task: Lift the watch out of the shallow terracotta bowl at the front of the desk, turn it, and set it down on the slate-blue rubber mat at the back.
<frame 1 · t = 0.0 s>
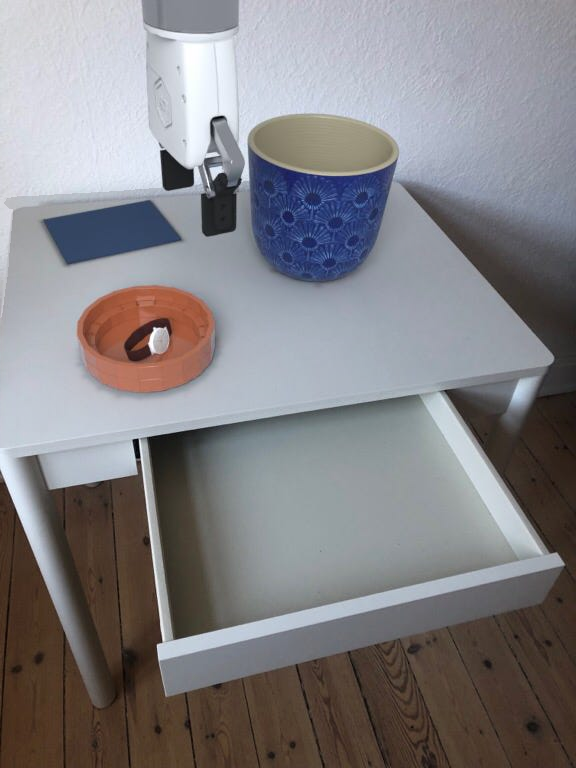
hand: (198, 209, 61), 23 cm above the table, tool pointing down, fingers open, 9 cm apart
mat: (111, 230, 102), on the table
planter: (311, 263, 99), on the table
watch: (149, 348, 81), resting on bowl
bowl: (149, 351, 81), on the table
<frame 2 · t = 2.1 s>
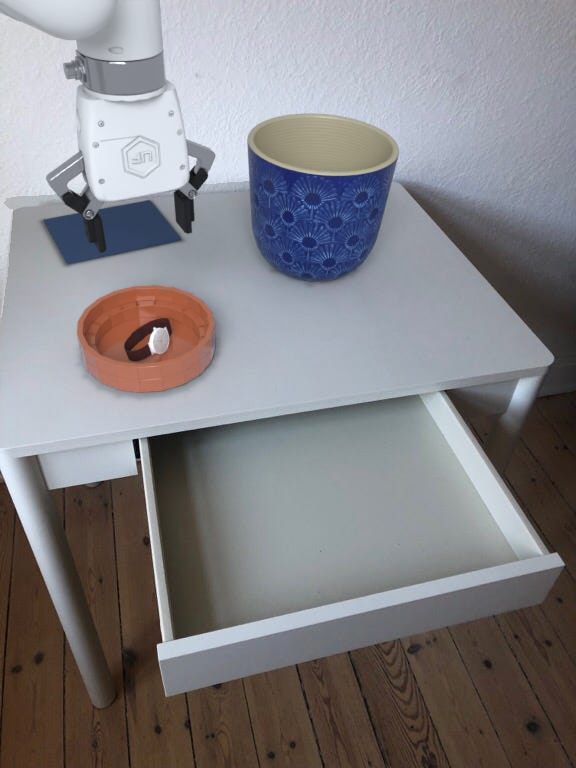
hand: (142, 236, 70), 16 cm above the table, tool pointing down, fingers open, 9 cm apart
nothing on the table moved.
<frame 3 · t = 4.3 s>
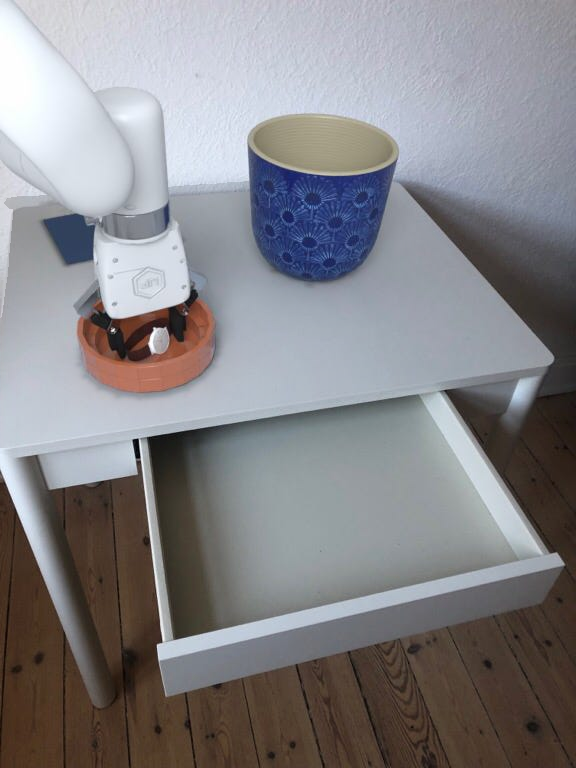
hand: (148, 342, 80), 1 cm above the table, tool pointing down, fingers closed on watch, 6 cm apart
watch: (149, 348, 81), resting on bowl, touching gripper
everything else where it was.
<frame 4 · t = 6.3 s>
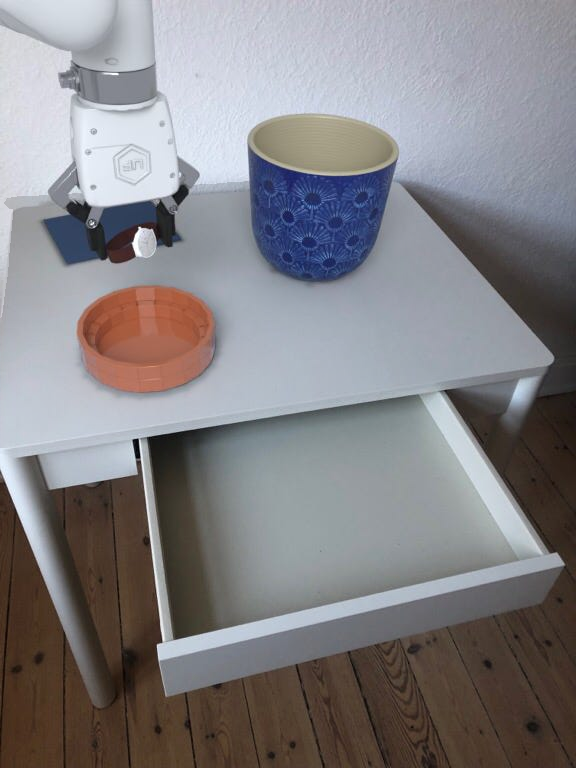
hand: (133, 246, 72), 14 cm above the table, tool pointing down, fingers closed on watch, 6 cm apart
watch: (134, 254, 73), point 13 cm above the table, touching gripper
everything else where it was.
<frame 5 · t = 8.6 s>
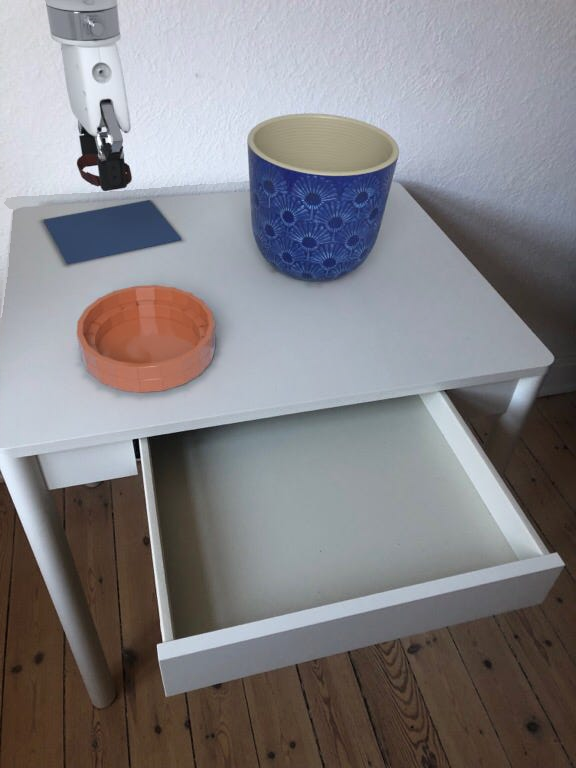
hand: (104, 175, 82), 15 cm above the table, tool pointing down, fingers closed on watch, 6 cm apart
watch: (105, 182, 83), point 15 cm above the table, touching gripper
everything else where it was.
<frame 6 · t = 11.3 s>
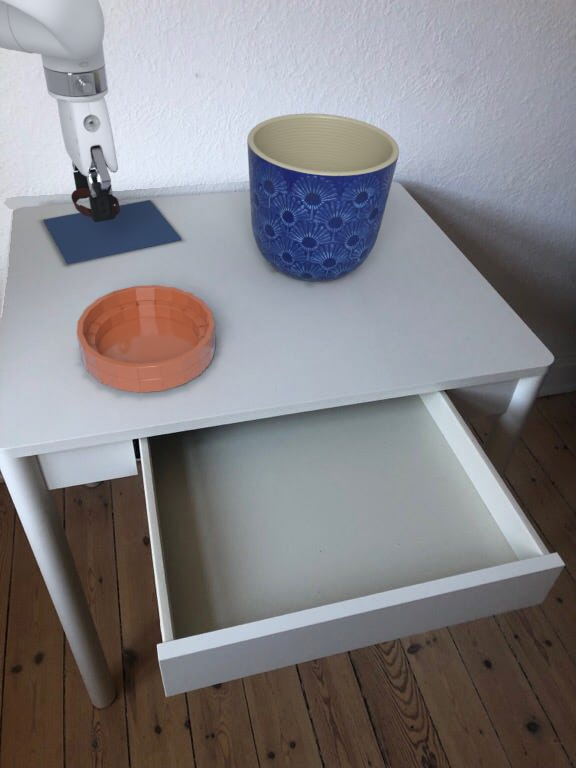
hand: (96, 207, 93), 7 cm above the table, tool pointing down, fingers closed on watch, 6 cm apart
watch: (97, 213, 94), point 6 cm above the table, touching gripper
everything else where it was.
when the fingers open (1 cm above the table, at t = 13.4 s): watch stays where it is, resting on mat.
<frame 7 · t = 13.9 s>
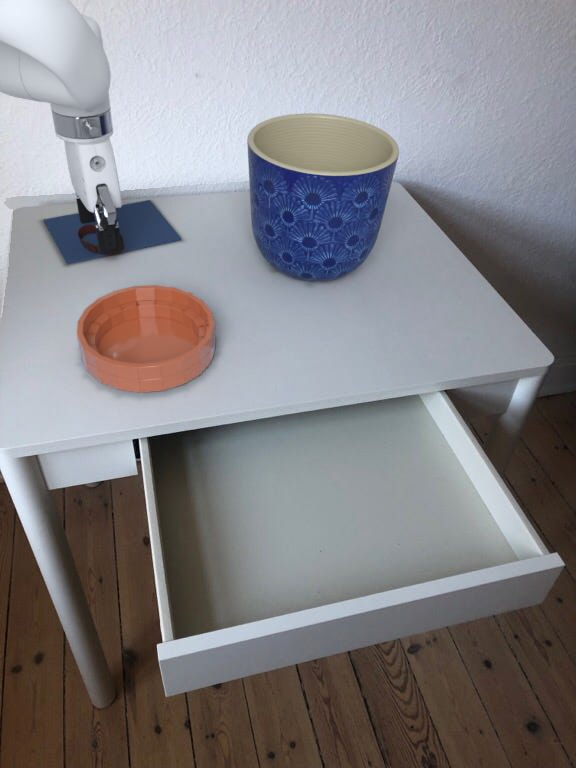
hand: (100, 236, 96), 2 cm above the table, tool pointing down, fingers open, 9 cm apart
watch: (102, 248, 98), resting on mat
everything else where it was.
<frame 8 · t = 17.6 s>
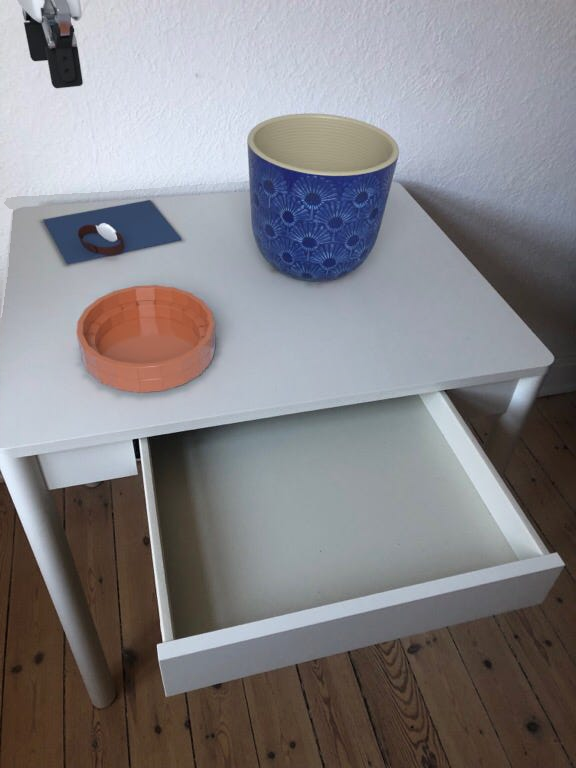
hand: (56, 72, 72), 28 cm above the table, tool pointing down, fingers open, 9 cm apart
nothing on the table moved.
at the end: watch inside the target area on the mat (6.0 cm from its centre), point 0.2 cm above the mat's base; watch touching mat; the gripper is holding nothing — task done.
